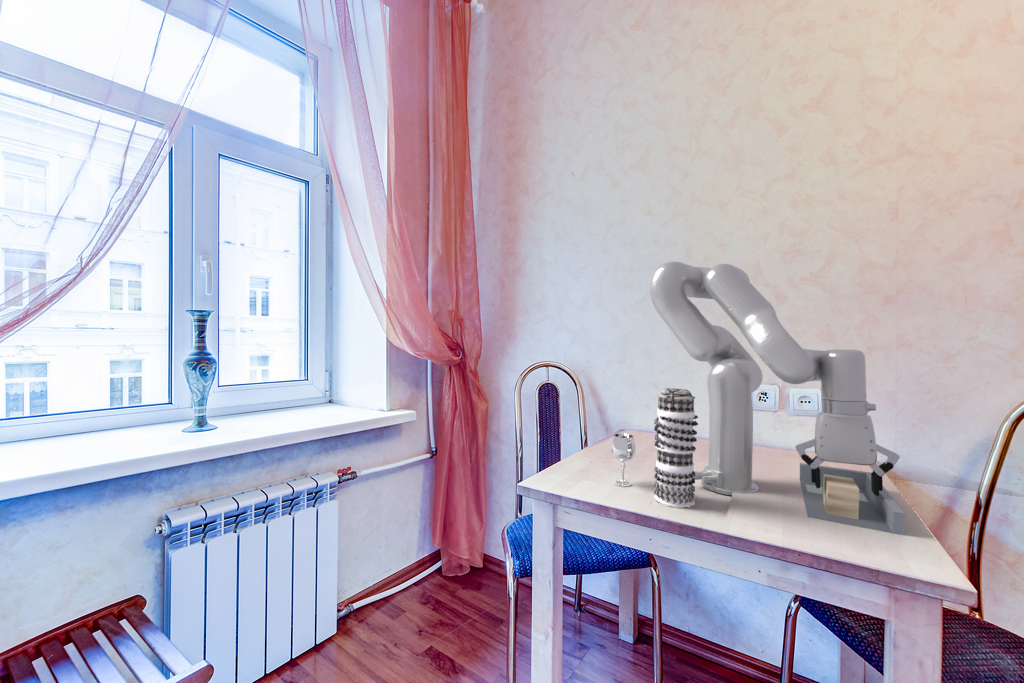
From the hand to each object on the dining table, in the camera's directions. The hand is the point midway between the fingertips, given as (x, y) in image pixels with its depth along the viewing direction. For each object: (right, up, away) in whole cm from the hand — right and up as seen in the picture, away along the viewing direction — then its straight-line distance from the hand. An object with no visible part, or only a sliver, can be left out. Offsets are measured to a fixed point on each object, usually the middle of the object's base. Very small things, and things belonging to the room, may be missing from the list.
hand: (845, 489), depth 90 cm
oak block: (-1, -4, +1) cm, 4 cm away
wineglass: (-42, -5, +17) cm, 46 cm away
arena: (+3, -5, +4) cm, 7 cm away
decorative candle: (-34, -5, +6) cm, 35 cm away
